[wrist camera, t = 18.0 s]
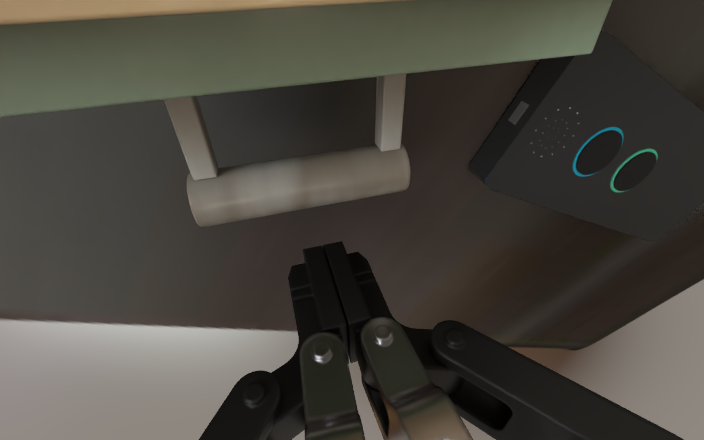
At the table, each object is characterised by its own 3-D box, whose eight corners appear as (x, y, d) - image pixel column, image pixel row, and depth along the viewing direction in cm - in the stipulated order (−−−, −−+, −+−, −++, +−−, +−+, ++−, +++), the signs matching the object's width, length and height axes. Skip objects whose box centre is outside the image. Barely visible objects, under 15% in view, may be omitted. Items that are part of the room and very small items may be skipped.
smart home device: (603, 20, 14) (761, 154, 23) (571, 13, 15) (732, 143, 24) (479, 190, 18) (656, 246, 27) (462, 173, 19) (636, 232, 28)
